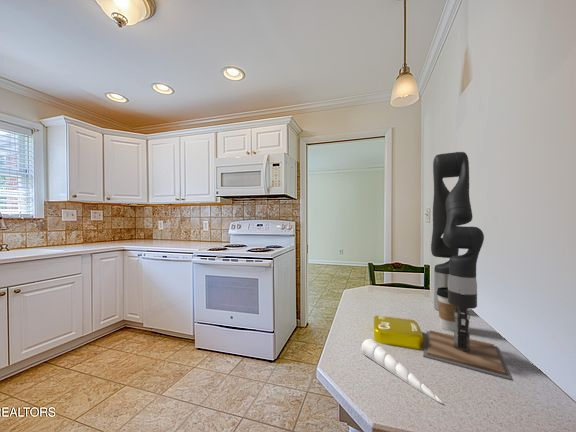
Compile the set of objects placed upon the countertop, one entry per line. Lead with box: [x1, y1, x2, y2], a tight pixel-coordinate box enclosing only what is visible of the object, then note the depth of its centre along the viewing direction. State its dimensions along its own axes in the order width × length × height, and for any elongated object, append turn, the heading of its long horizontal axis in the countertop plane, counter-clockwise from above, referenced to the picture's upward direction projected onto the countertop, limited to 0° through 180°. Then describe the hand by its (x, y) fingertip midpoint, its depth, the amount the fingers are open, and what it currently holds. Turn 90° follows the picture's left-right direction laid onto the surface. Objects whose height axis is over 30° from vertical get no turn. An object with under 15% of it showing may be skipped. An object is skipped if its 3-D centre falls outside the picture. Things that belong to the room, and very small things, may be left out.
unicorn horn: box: [361, 338, 444, 405], centre depth 66 cm, size 5×24×5 cm, turn 22°
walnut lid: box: [427, 329, 505, 375], centre depth 78 cm, size 18×18×6 cm
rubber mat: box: [422, 330, 512, 381], centre depth 78 cm, size 20×20×1 cm
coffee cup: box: [437, 287, 457, 332], centre depth 96 cm, size 8×8×15 cm
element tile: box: [373, 315, 424, 350], centre depth 88 cm, size 15×15×5 cm
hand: (461, 344), depth 78 cm, fingers closed on walnut lid, 4 cm apart
